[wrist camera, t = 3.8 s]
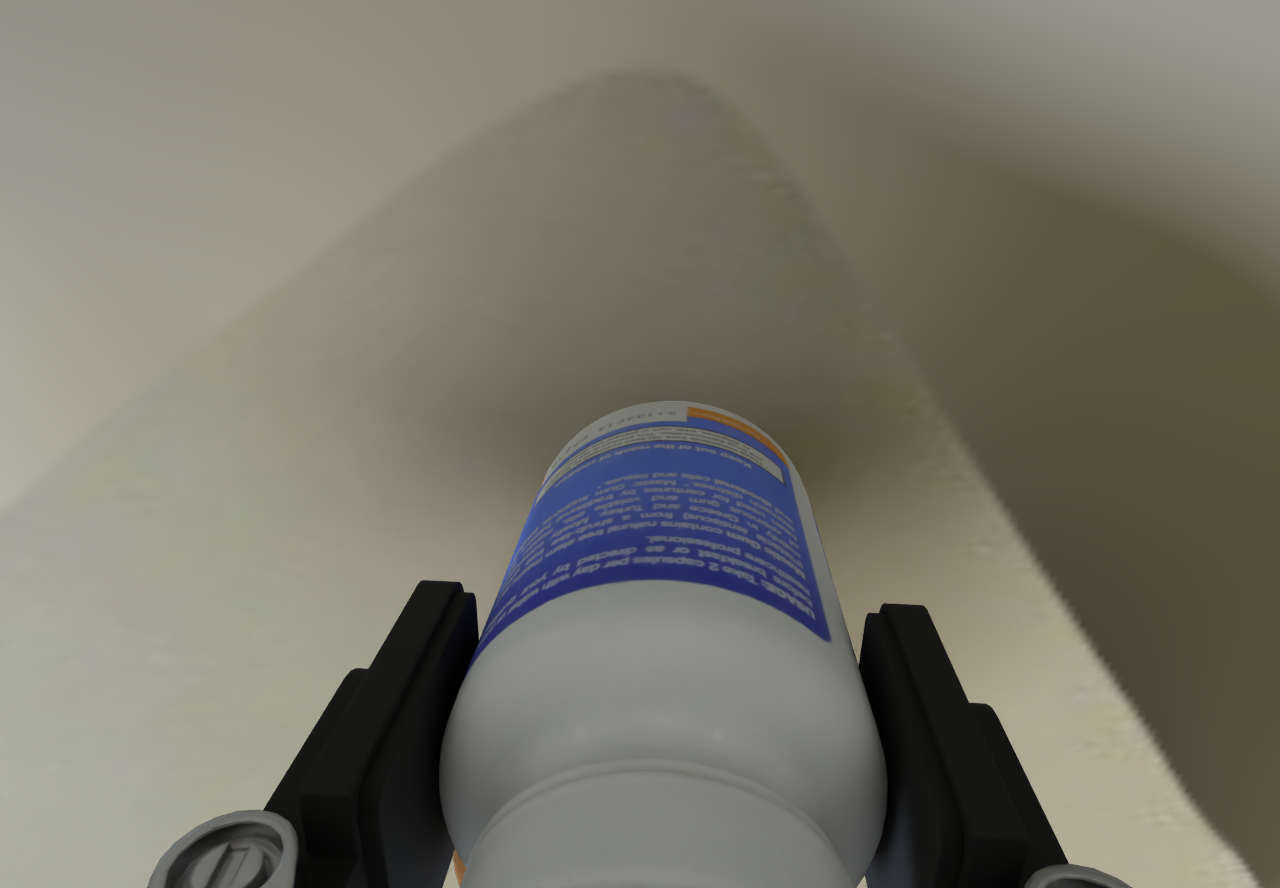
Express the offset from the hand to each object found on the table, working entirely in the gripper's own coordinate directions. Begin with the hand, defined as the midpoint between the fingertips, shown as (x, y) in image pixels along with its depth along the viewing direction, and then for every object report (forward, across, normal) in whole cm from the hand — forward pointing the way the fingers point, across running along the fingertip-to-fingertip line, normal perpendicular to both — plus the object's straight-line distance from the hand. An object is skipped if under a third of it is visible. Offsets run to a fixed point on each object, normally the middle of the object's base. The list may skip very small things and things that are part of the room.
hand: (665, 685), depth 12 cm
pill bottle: (+5, 0, 0) cm, 5 cm away
